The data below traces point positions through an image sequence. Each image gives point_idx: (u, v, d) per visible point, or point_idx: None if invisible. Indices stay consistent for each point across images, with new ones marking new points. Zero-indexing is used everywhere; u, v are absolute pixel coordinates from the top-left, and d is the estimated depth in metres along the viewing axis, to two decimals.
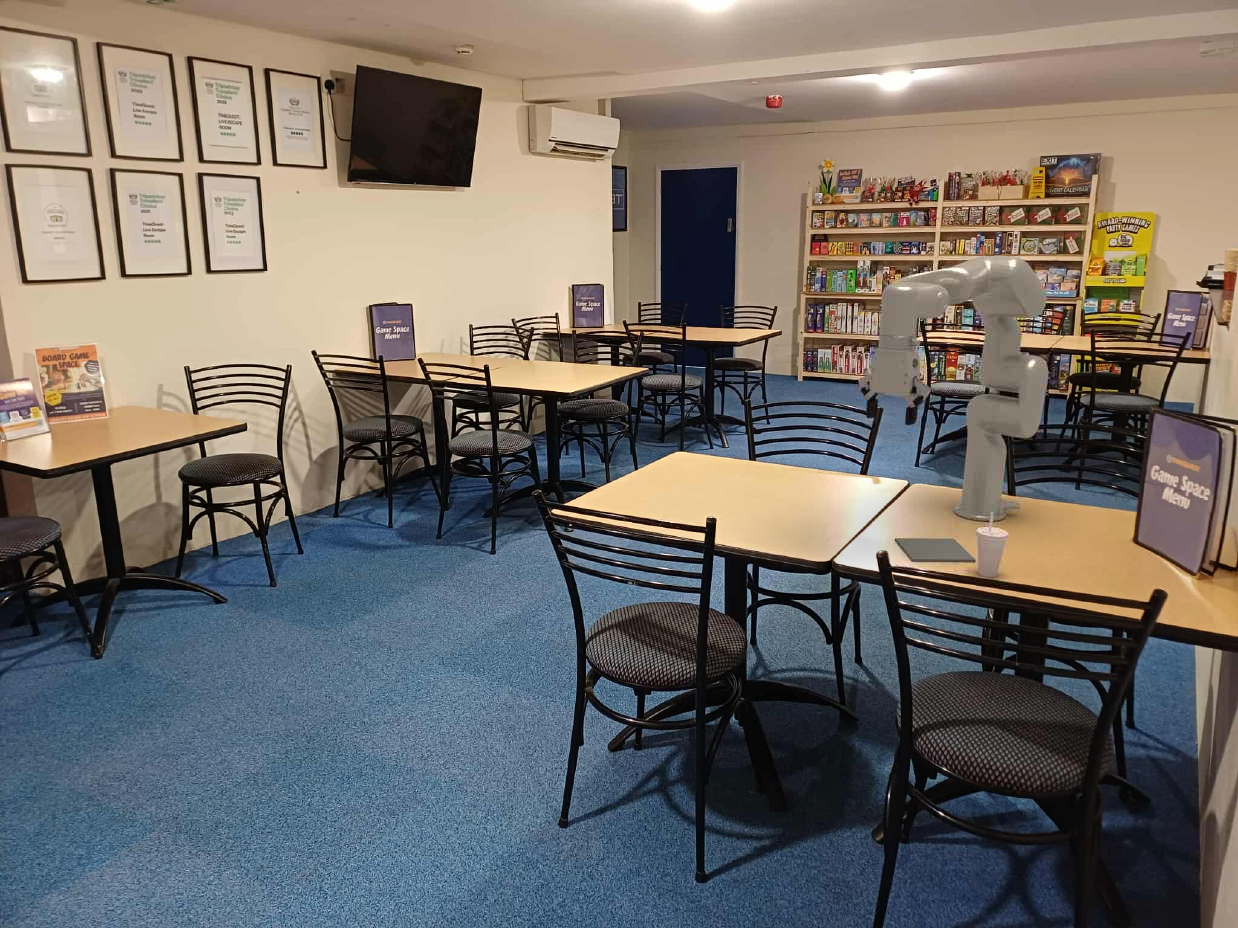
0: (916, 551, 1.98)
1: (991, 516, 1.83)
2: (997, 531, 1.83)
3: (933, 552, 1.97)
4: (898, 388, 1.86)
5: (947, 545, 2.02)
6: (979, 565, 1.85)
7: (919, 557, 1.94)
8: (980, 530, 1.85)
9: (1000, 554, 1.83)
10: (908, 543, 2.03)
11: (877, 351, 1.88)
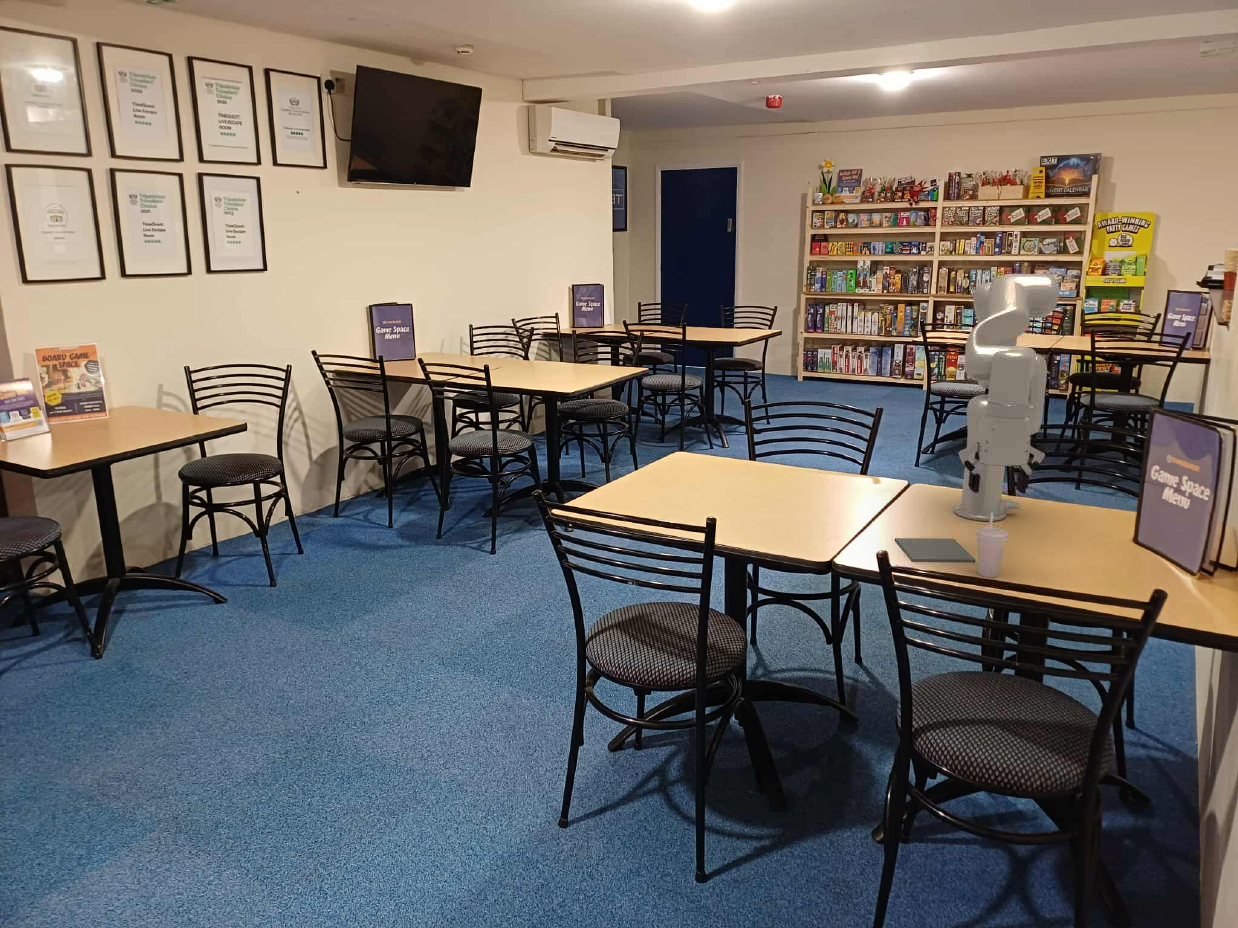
0: (916, 551, 1.98)
1: (991, 516, 1.83)
2: (997, 531, 1.83)
3: (933, 552, 1.97)
4: (1018, 457, 1.77)
5: (947, 545, 2.02)
6: (979, 565, 1.85)
7: (919, 557, 1.94)
8: (980, 530, 1.85)
9: (1000, 554, 1.83)
10: (908, 543, 2.03)
11: (993, 421, 1.75)
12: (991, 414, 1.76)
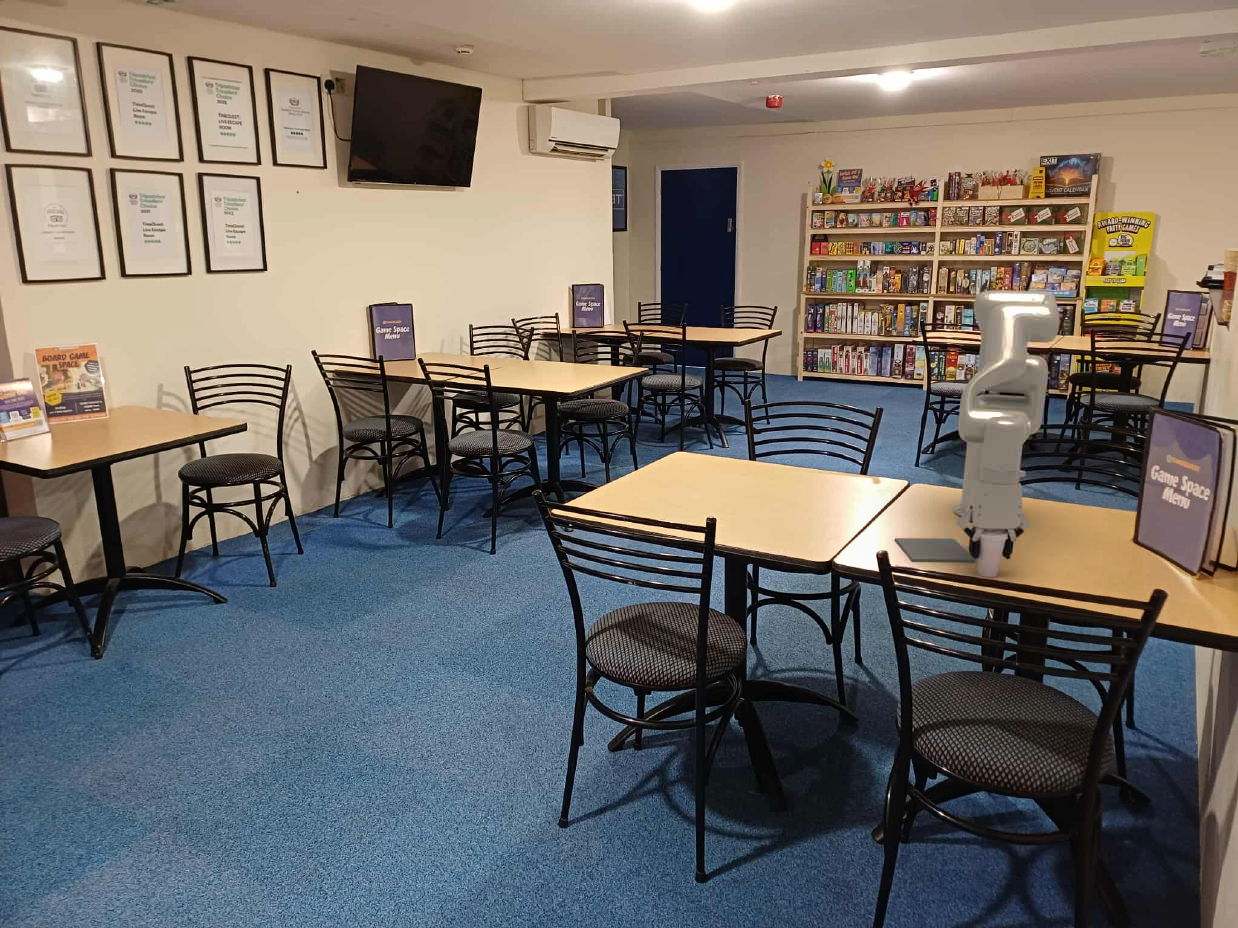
0: (916, 551, 1.98)
1: None
2: (996, 531, 1.83)
3: (933, 552, 1.97)
4: (1011, 521, 1.81)
5: (947, 545, 2.02)
6: (979, 565, 1.85)
7: (919, 557, 1.94)
8: None
9: (1000, 554, 1.83)
10: (908, 543, 2.03)
11: (986, 487, 1.79)
12: (984, 479, 1.80)
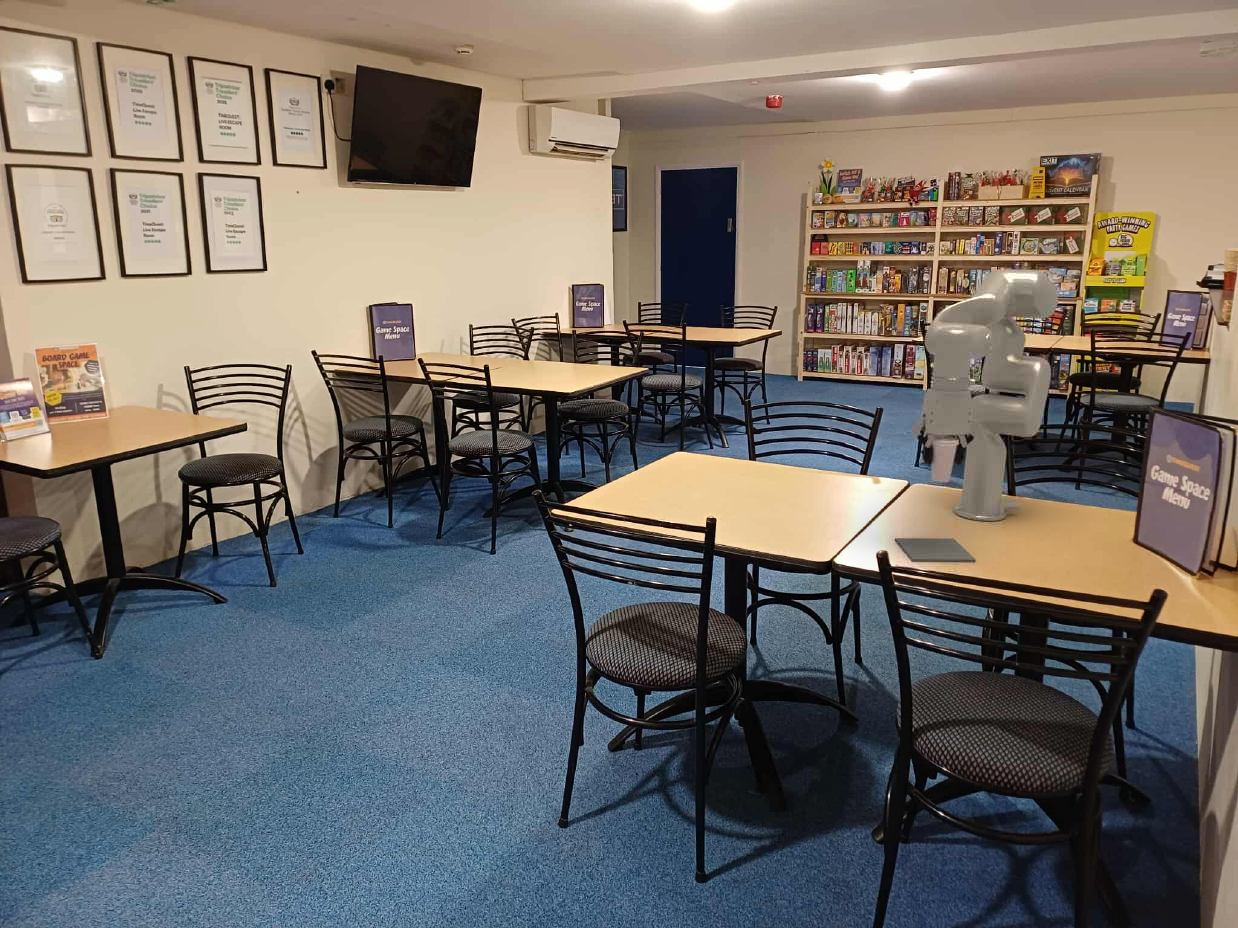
0: (916, 551, 1.98)
1: None
2: (948, 438, 1.93)
3: (933, 552, 1.97)
4: (961, 427, 1.90)
5: (947, 545, 2.02)
6: (932, 471, 1.95)
7: (919, 557, 1.94)
8: None
9: (951, 459, 1.92)
10: (908, 543, 2.03)
11: (937, 394, 1.88)
12: (935, 387, 1.89)
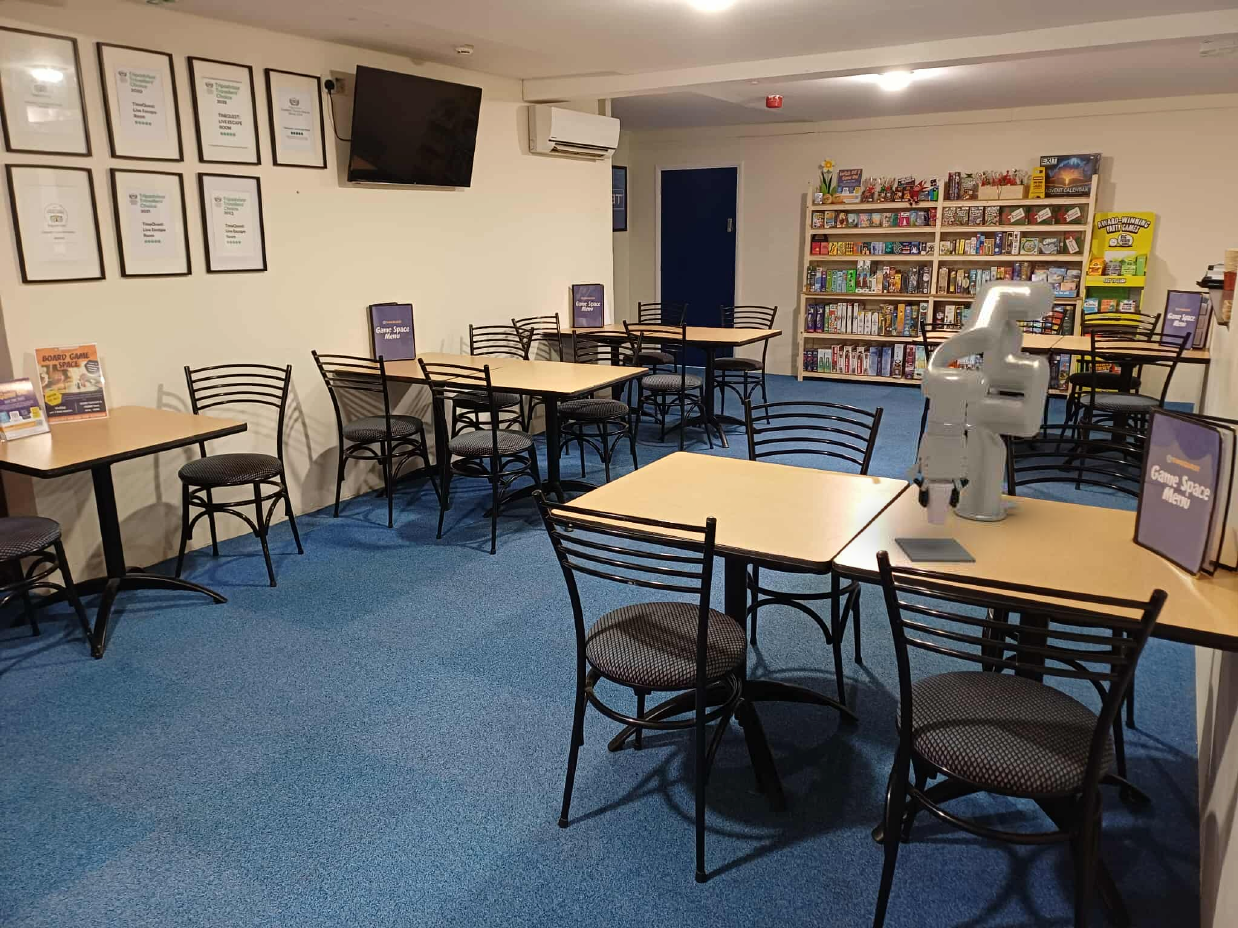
0: (916, 551, 1.98)
1: None
2: (944, 481, 1.95)
3: (933, 552, 1.97)
4: (956, 471, 1.93)
5: (947, 545, 2.02)
6: (928, 514, 1.97)
7: (919, 557, 1.94)
8: None
9: (947, 503, 1.95)
10: (908, 543, 2.03)
11: (933, 439, 1.91)
12: (931, 432, 1.92)
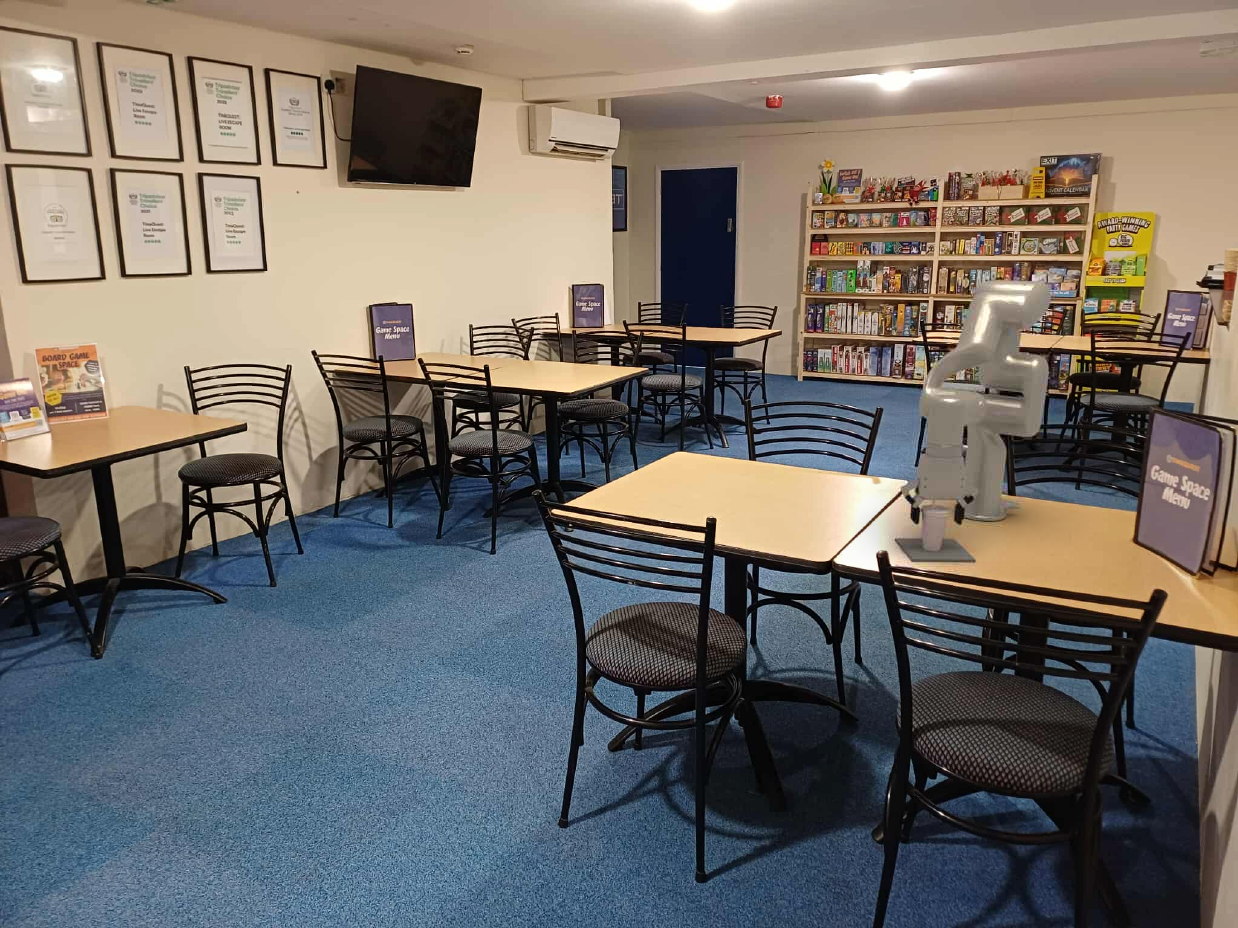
0: (916, 551, 1.98)
1: None
2: (940, 508, 1.97)
3: (933, 552, 1.97)
4: (954, 492, 1.94)
5: (947, 545, 2.02)
6: (923, 540, 1.99)
7: (919, 557, 1.94)
8: (924, 507, 1.98)
9: (942, 529, 1.96)
10: (908, 543, 2.03)
11: (931, 460, 1.92)
12: (929, 453, 1.93)
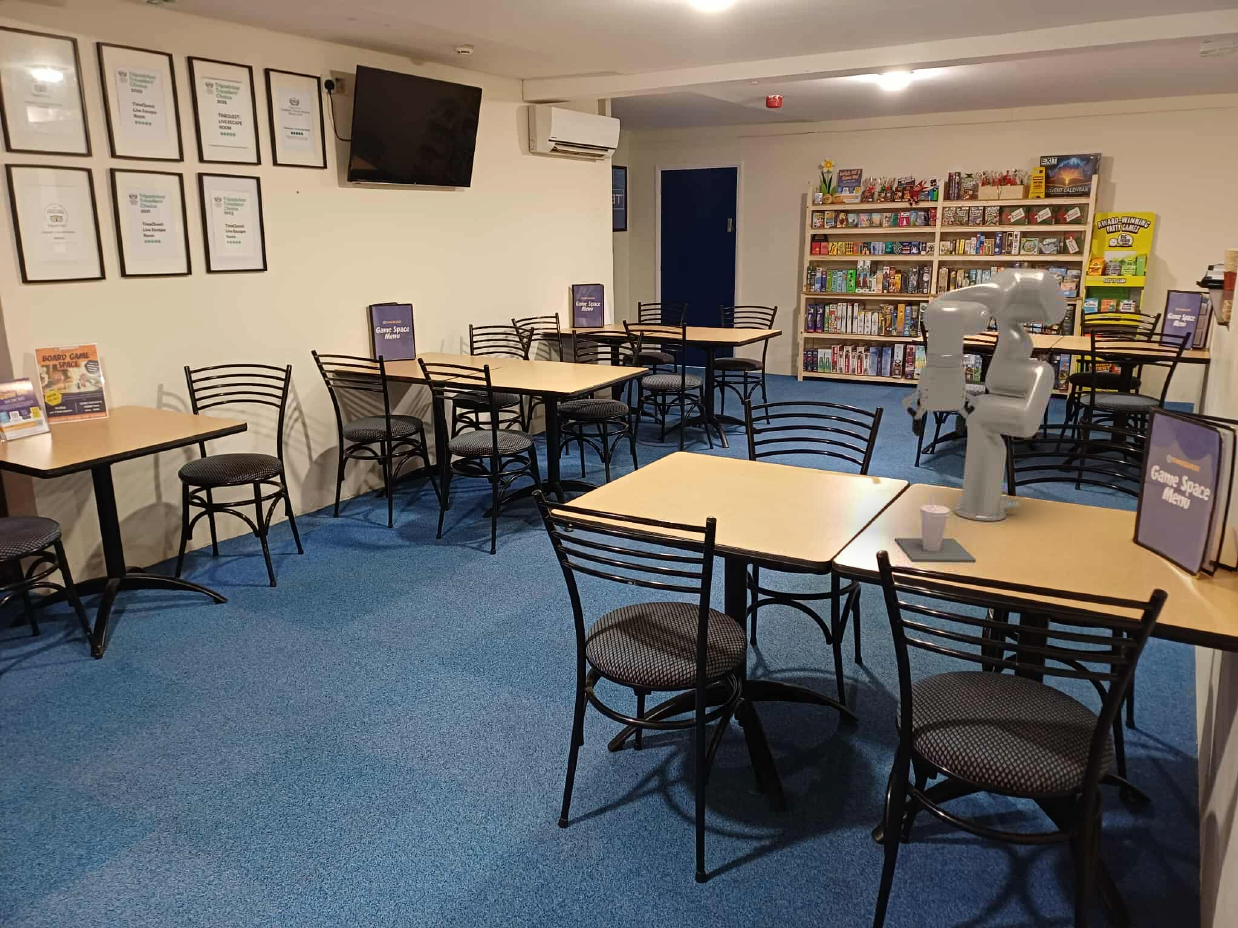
0: (916, 551, 1.98)
1: (933, 494, 1.96)
2: (939, 508, 1.97)
3: (933, 552, 1.97)
4: (955, 403, 1.95)
5: (947, 545, 2.02)
6: (923, 540, 1.99)
7: (919, 557, 1.94)
8: (924, 507, 1.98)
9: (942, 529, 1.96)
10: (908, 543, 2.03)
11: (932, 371, 1.93)
12: (930, 364, 1.94)
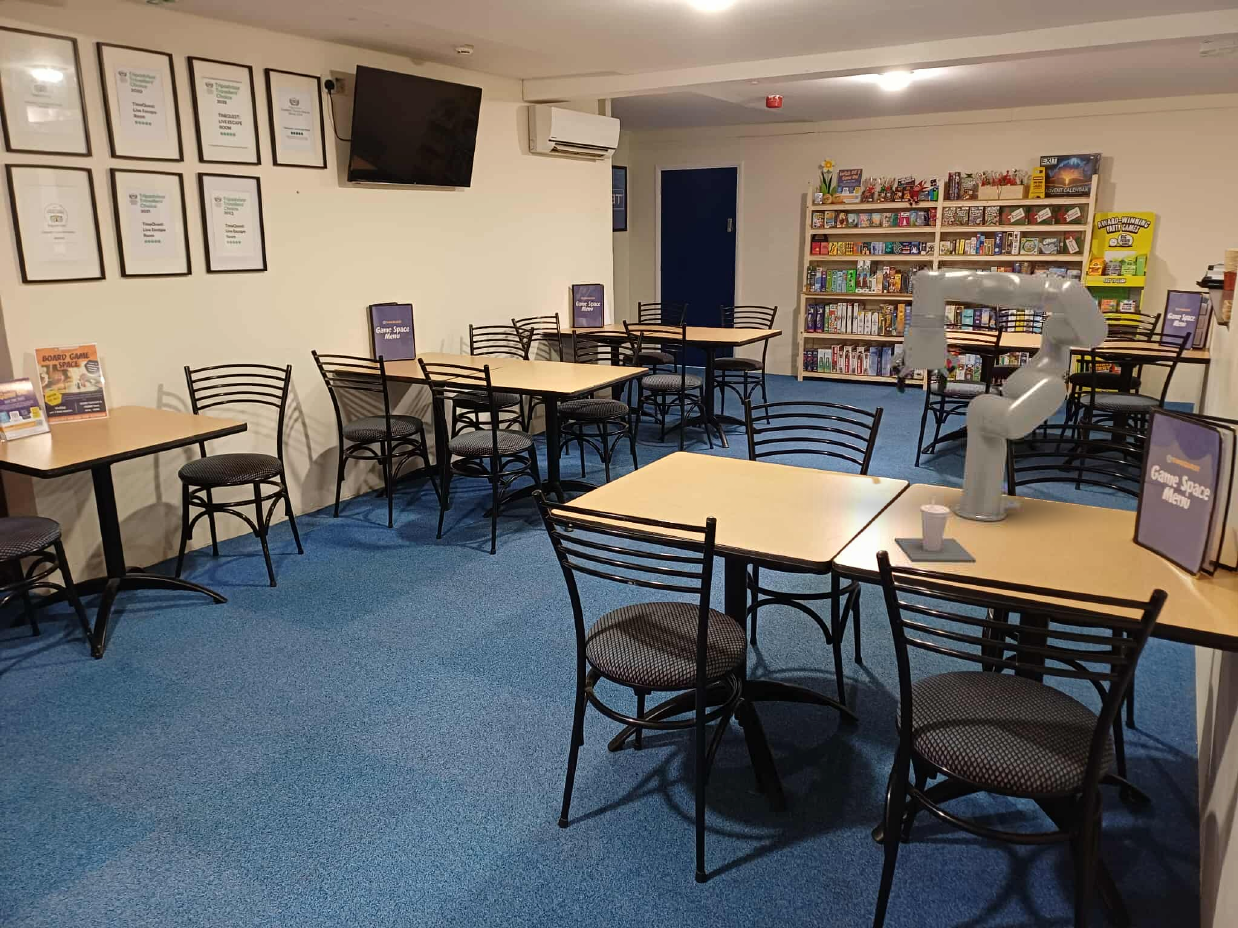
0: (916, 551, 1.98)
1: (933, 494, 1.96)
2: (939, 508, 1.97)
3: (933, 552, 1.97)
4: (937, 362, 2.09)
5: (947, 545, 2.02)
6: (923, 540, 1.99)
7: (919, 557, 1.94)
8: (924, 507, 1.98)
9: (942, 529, 1.96)
10: (908, 543, 2.03)
11: (915, 331, 2.07)
12: (914, 325, 2.07)
